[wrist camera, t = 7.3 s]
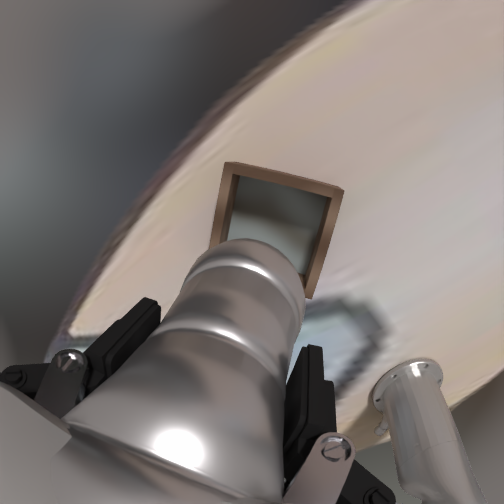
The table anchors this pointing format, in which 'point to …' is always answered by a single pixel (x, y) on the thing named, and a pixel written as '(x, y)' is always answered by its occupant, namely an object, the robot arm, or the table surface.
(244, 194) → the square wooden frame
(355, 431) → the table surface
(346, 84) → the table surface
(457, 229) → the table surface
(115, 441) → the silver rounded threaded piece
